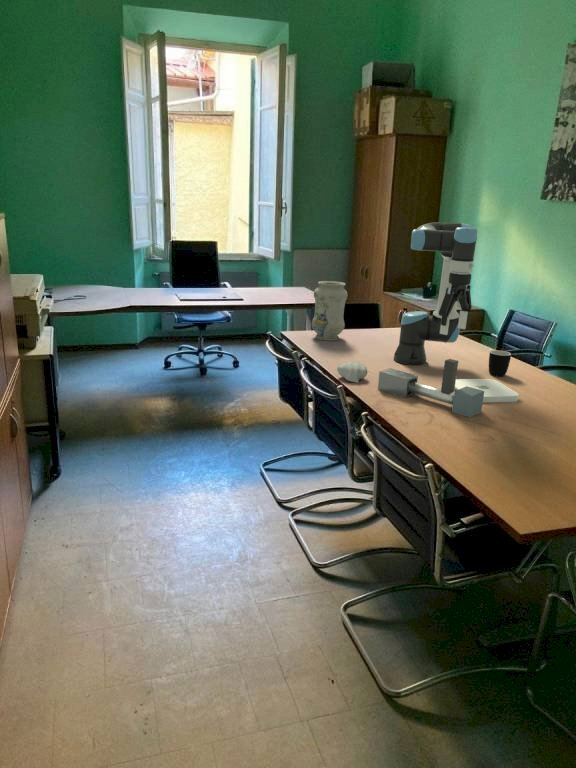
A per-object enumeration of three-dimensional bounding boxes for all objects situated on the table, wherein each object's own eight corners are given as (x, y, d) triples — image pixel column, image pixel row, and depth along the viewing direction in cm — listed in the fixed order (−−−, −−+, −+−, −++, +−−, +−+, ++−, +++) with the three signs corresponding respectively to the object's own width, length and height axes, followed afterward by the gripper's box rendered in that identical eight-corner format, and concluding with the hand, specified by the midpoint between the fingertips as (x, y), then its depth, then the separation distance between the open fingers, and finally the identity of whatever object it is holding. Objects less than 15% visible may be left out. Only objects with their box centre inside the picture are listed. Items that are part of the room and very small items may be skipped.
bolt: (401, 391, 224) (406, 351, 219) (407, 389, 227) (412, 349, 222) (463, 409, 207) (469, 366, 202) (468, 406, 210) (475, 364, 205)
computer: (521, 402, 223) (522, 395, 222) (468, 403, 219) (469, 397, 218) (492, 384, 243) (493, 378, 243) (444, 385, 240) (444, 379, 239)
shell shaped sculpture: (346, 372, 251) (347, 357, 249) (371, 378, 244) (373, 363, 242) (330, 378, 241) (331, 364, 239) (357, 385, 234) (358, 370, 232)
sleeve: (377, 389, 230) (379, 371, 227) (388, 385, 235) (390, 368, 233) (405, 397, 221) (407, 379, 219) (416, 393, 227) (418, 375, 224)
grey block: (451, 412, 208) (454, 391, 206) (463, 406, 214) (466, 386, 212) (469, 417, 204) (473, 396, 201) (481, 411, 210) (484, 390, 207)
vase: (327, 332, 322) (330, 279, 313) (351, 339, 310) (355, 283, 301) (304, 336, 311) (307, 281, 301) (328, 343, 298) (331, 285, 289)
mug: (510, 378, 252) (513, 356, 249) (489, 376, 253) (492, 354, 250) (502, 370, 263) (506, 349, 260) (482, 369, 264) (486, 347, 261)
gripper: (453, 277, 191) (445, 338, 198) (486, 271, 209) (477, 328, 216) (433, 274, 196) (426, 334, 203) (467, 268, 214) (459, 324, 220)
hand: (452, 331), depth 209 cm, fingers open, 13 cm apart
